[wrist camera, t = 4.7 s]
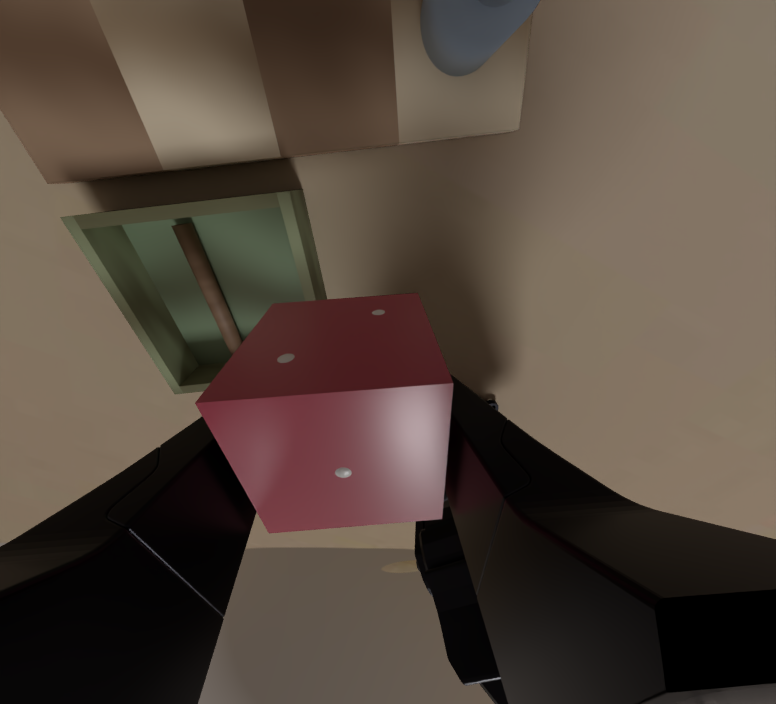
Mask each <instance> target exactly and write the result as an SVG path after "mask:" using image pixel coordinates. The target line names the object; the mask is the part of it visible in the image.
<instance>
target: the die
mask: <svg viewBox="0 0 776 704" xmlns="http://www.w3.org/2000/svg"><path fill="white" fill-rule="evenodd" d="M452 394H453V381H452V378H451V376H450V373H449V371H448V368H447V366H446V363H445V361H444V358H443V356H442V353H441V351H440V348H439V345H438V343H437V340H436V338H435V335H434V333H433V330H432V328H431V325H430V323H429V320H428V318H427V315H426V312H425V310H424V307H423V305H422V302H421V300H420V297H419V295H418V293H410V294H396V295H382V296H369V297H355V298H342V299H328V300H315V301H301V302H288V303H274V304H272V305H271V307H270V308H269V309H268V310H267V312H266V313H265V314H264V316H263V317H262V318H261V319H260V321H259V322H258V323H257V325H256V326H255V327H254V328H253V330H252V331H251V332H250V333H249V335H248V336H247V337H246V339H245V340H244V341H243V342H242V344H241V345H240V346H239V348H238V349H237V350H236V351H235V353H234V354H233V355H232V357H231V358H230V359H229V360H228V362H227V363H226V364H225V366H224V367H223V368H222V369H221V371H220V372H219V373H218V374H217V376H216V377H215V378H214V380H213V381H212V382H211V383H210V385H209V386H208V387H207V389H206V390H205V391H204V392H203V394H202V395H201V396H200V398H199V399H198V400H197V401H196V403H195V404H196V405H197V407H198V409H199V411H200V413H201V414H202V416H203V418H204V420H205V421H206V423H207V425H208V427H209V428H210V430H211V432H212V434H213V435H214V437H215V439H216V441H217V443H218V444H219V446H220V448H221V450H222V451H223V453H224V455H225V457H226V458H227V460H228V462H229V464H230V465H231V467H232V469H233V471H234V472H235V474H236V476H237V478H238V480H239V481H240V483H241V485H242V487H243V488H244V490H245V492H246V494H247V495H248V497H249V499H250V501H251V502H252V504H253V506H254V508H255V510H256V511H257V513H258V515H259V517H260V518H261V520H262V522H263V524H264V525H265V527H266V529H267V531H268V532H269V533H279V532H291V531H303V530H315V529H328V528H340V527H352V526H364V525H376V524H389V523H401V522H413V521H425V520H438V519H442V515H443V503H444V491H445V478H446V466H447V454H448V442H449V430H450V418H451V406H452Z"/></svg>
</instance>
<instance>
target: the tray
mask: <svg viewBox="0 0 776 704" xmlns="http://www.w3.org/2000/svg"><path fill="white" fill-rule="evenodd" d="M60 218H61V219H62V221H63V222H64V224H65V226H66V227H67V229H68V230H69V232H70V233H71V235H72V236H73V238H74V239H75V241H76V243H77V244H78V246H79V247H80V249H81V250H82V252H83V253H84V255H85V256H86V258H87V260H88V261H89V263H90V264H91V266H92V267H93V269H94V270H95V272H96V273H97V275H98V276H99V278H100V280H101V281H102V283H103V284H104V286H105V287H106V289H107V290H108V292H109V293H110V295H111V297H112V298H113V300H114V301H115V303H116V304H117V306H118V307H119V309H120V310H121V312H122V314H123V315H124V317H125V318H126V320H127V321H128V323H129V324H130V326H131V327H132V329H133V330H134V332H135V334H136V335H137V337H138V338H139V340H140V341H141V343H142V344H143V346H144V347H145V349H146V351H147V352H148V354H149V355H150V357H151V358H152V360H153V361H154V363H155V364H156V366H157V368H158V369H159V371H160V372H161V374H162V375H163V377H164V378H165V380H166V381H167V383H168V385H169V386H170V388H171V389H172V391H173V392H174V394H182V393H192V392H201V391H205V390H206V389H207V387H208V386H209V385H210V383H211V382H212V381H213V380H214V378H215V377H216V376H217V374H218V373H219V372H220V371H221V369H222V368H223V367H224V366H225V364H226V363H227V362H228V360H229V359H230V358H231V357H232V355H233V354H234V353H235V351H236V350H237V349H238V348H239V346H240V345H241V344H242V342H243V341H244V340H245V339H246V337H247V336H248V335H249V333H250V332H251V331H252V330H253V328H254V327H255V326H256V325H257V323H258V322H259V321H260V319H261V318H262V317H263V316H264V314H265V313H266V312H267V310H268V309H269V308H270V307H271V305H272V304H274V303H288V302H301V301H315V300H327V296H326V292H325V288H324V283H323V279H322V274H321V270H320V265H319V261H318V256H317V252H316V247H315V243H314V238H313V234H312V229H311V225H310V220H309V216H308V211H307V207H306V202H305V198H304V193H303V189H301V190H292V191H283V192H274V193H265V194H257V195H248V196H239V197H230V198H222V199H213V200H204V201H195V202H186V203H178V204H169V205H160V206H151V207H142V208H134V209H125V210H116V211H108V212H99V213H91V214H83V215H75V216H67V217H60Z"/></svg>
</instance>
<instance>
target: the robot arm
mask: <svg viewBox="0 0 776 704" xmlns="http://www.w3.org/2000/svg"><path fill="white" fill-rule="evenodd" d="M450 376H451V378H452V381H453V394H452V406H451V418H450V430H449V442H448V454H447V466H446V478H445V491H444V503H443V515H442V519H438V520H425V521H416V532H415V557H416V564H417V568H418V570H419V571H420V572H421V575H422V578H423V581H424V583H425V585H426V588H427V589H428V591H429V593H430V594H431V595H432V596H433V598H434V602H435V605H436V609H437V612H438V616H439V620H440V624H441V629H442V633H443V638H444V643H445V647H446V652H447V656H448V659H449V662H450V663H451V665H452V667H453V668H454V670H455V672H456V674H457V675H458V677H459V679H460V680H461V682H462V683H463V684H464V685H466V686H467V685H471V684H477V683H479V684H480V685H481V687H482V688H483V689H484V690H485V692H486V693H487V694H488V695H489V697H490V698H491V699H492V701H493V702H494V703H495V704H776V539H772V538H768V537H764V536H760V535H756V534H752V533H748V532H744V531H740V530H736V529H731V528H727V527H723V526H719V525H715V524H711V523H707V522H703V521H699V520H695V519H690V518H686V517H682V516H678V515H674V514H670V513H666V512H662V511H658V510H654V509H651V508H648V507H645V506H643V505H640V504H638V503H635V502H633V501H631V500H629V499H627V498H625V497H623V496H621V495H619V494H618V493H616V492H614V491H613V490H611V489H609V488H608V487H606V486H605V485H603V484H602V483H600V482H599V481H597V480H596V479H594V478H593V477H591V476H589V475H588V474H586V473H585V472H583V471H582V470H580V469H579V468H577V467H576V466H574V465H573V464H571V463H570V462H568V461H566V460H565V459H563V458H562V457H560V456H559V455H557V454H556V453H554V452H553V451H551V450H550V449H548V448H547V447H545V446H544V445H542V444H541V443H540V442H538V441H537V440H535V439H534V438H533V437H531V436H530V435H529V434H527V433H526V432H524V431H523V430H522V429H520V428H519V427H518V426H517V425H515V424H514V423H513V422H511V421H510V420H507V418H506V417H505V416H504V415H502V414H501V413H500V412H498V405H497V403H496V401H493V400H491V401H484V400H483V399H482V398H481V397H479V396H478V395H477V394H475V393H474V392H473V391H472V390H470V389H469V388H468V387H467V386H465V385H464V384H463V383H461V382H460V381H459V380H458V379H456V378H455V377H454V376H452V375H451V374H450ZM255 515H256V510H255V508H254V506H253V504H252V502H251V501H250V499H249V497H248V495H247V494H246V492H245V490H244V488H243V487H242V485H241V483H240V481H239V480H238V478H237V476H236V474H235V472H234V471H233V469H232V467H231V465H230V464H229V462H228V460H227V458H226V457H225V455H224V453H223V451H222V450H221V448H220V446H219V444H218V443H217V441H216V439H215V437H214V435H213V434H212V432H211V430H210V428H209V427H208V425H207V423H206V421H205V420H204V418H203V416H202V417H201V418H199V419H198V420H196V421H195V422H194V423H192V424H191V425H189V426H188V427H186V428H185V429H183V430H182V431H181V432H179V433H178V434H176V435H175V436H173V437H172V438H170V439H169V440H168V441H166V442H165V443H163V444H162V445H161V446H160V447H158V448H156V449H154V450H153V451H152V452H150V453H149V454H147V455H146V456H144V457H143V458H141V459H140V460H138V461H137V462H136V463H134V464H133V465H131V466H130V467H128V468H127V469H125V470H124V471H122V472H121V473H119V474H118V475H116V476H114V477H113V478H111V479H110V480H108V481H106V482H105V483H103V484H102V485H100V486H99V487H97V488H95V489H94V490H92V491H91V492H89V493H87V494H86V495H84V496H83V497H81V498H79V499H78V500H76V501H75V502H73V503H71V504H70V505H68V506H67V507H65V508H63V509H62V510H60V511H59V512H57V513H55V514H54V515H52V516H51V517H49V518H47V519H46V520H44V521H42V522H41V523H39V524H38V525H36V526H34V527H33V528H31V529H30V530H28V531H26V532H25V533H23V534H22V535H20V536H18V537H17V538H15V539H13V540H12V541H10V542H8V543H6V544H5V545H3V546H1V547H0V704H198V701H199V698H200V695H201V691H202V688H203V685H204V682H205V679H206V675H207V672H208V669H209V665H210V662H211V659H212V656H213V652H214V649H215V646H216V643H217V639H218V636H219V633H220V630H221V626H222V623H223V620H224V619H223V617H224V615H225V612H226V609H227V606H228V603H229V599H230V596H231V593H232V589H233V586H234V583H235V580H236V577H237V573H238V570H239V567H240V564H241V560H242V557H243V554H244V551H245V547H246V544H247V541H248V538H249V534H250V531H251V528H252V525H253V521H254V518H255Z"/></svg>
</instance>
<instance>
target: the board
mask: <svg viewBox="0 0 776 704" xmlns="http://www.w3.org/2000/svg"><path fill="white" fill-rule="evenodd" d="M422 2H423V0H0V109H1V111H2V113H3V114H4V116H5V117H6V119H7V120H8V122H9V124H10V125H11V127H12V128H13V130H14V132H15V133H16V135H17V136H18V138H19V139H20V141H21V143H22V144H23V146H24V147H25V149H26V150H27V152H28V154H29V155H30V157H31V158H32V160H33V162H34V163H35V165H36V166H37V168H38V169H39V171H40V173H41V174H42V176H43V177H44V179H45V180H46V182H47V184H61V183H74V182H83V181H91V180H100V179H109V178H117V177H126V176H135V175H143V174H152V173H161V172H169V171H178V170H187V169H195V168H204V167H213V166H221V165H230V164H239V163H247V162H256V161H265V160H273V159H282V158H291V157H299V156H308V155H317V154H325V153H334V152H343V151H351V150H360V149H369V148H377V147H386V146H395V145H403V144H412V143H421V142H429V141H438V140H447V139H455V138H464V137H473V136H481V135H490V134H499V133H508V132H513V131H515V130H518V129H519V125H520V117H521V108H522V100H523V91H524V83H525V74H526V66H527V57H528V49H529V41H530V32H531V24H532V15H533V12H532V13H531V15H530V16H529V17H528V18H527V20H526V21H525V22H524V23H523V24H522V25H521V26H520V27H519V28H518V29H517V30H516V31H515V32H514V33H513V34H512V35H511V36H510V37H509V38H508V39H507V40H506V41H505V42H504V43H503V44H502V45H501V46H500V48H499V49H498V50H497V51H496V52H495V53H494V54H493V55H492V56H491V57H490V58H489V59H488V60H487V61H486V62H485V63H484V64H483V65H482V66H481V67H480V68H478V69H477V70H476V71H474V72H472V73H470V74H468V75H465V76H450V75H447V74H445V73H443V72H441V71H440V70H439V69H438V68H437V67H436V66H435V65H434V64H433V63H432V61H431V60H430V59H429V57H428V55H427V53H426V50H425V48H424V44H423V41H422V35H421V26H420V15H421V7H422Z"/></svg>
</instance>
